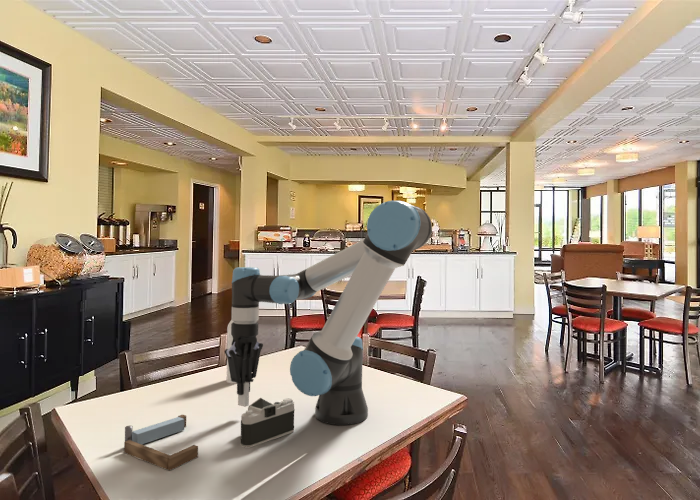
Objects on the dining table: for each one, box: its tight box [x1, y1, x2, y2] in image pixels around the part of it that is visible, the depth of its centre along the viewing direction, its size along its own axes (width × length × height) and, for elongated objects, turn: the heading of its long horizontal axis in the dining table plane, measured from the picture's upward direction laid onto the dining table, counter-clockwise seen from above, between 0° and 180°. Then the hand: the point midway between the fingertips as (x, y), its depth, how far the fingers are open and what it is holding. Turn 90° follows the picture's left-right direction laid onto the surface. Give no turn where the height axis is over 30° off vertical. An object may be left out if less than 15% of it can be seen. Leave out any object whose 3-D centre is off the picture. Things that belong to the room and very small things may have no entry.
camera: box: [240, 397, 296, 448], centre depth 115 cm, size 16×9×10 cm, turn 137°
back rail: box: [123, 440, 171, 471], centre depth 100 cm, size 15×1×2 cm, turn 59°
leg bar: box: [132, 416, 185, 445], centre depth 112 cm, size 12×3×3 cm, turn 144°
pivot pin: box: [124, 425, 133, 442], centre depth 106 cm, size 2×2×5 cm
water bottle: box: [226, 319, 241, 384], centre depth 162 cm, size 9×6×25 cm
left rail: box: [167, 444, 199, 471], centre depth 99 cm, size 1×7×2 cm, turn 149°
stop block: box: [177, 414, 187, 429], centre depth 119 cm, size 2×1×3 cm
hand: (243, 405), depth 126 cm, fingers closed
